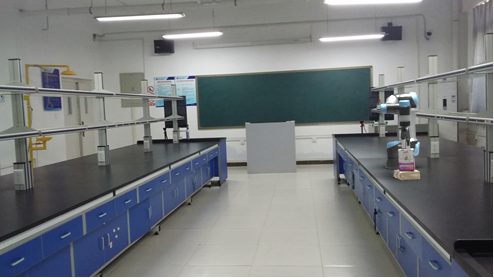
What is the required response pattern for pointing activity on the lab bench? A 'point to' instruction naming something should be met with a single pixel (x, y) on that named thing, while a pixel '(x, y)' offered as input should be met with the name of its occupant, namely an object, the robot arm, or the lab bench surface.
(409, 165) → the candy bar box
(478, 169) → the lab bench surface
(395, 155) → the robot arm
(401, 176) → the birch block
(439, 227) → the lab bench surface
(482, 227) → the lab bench surface
